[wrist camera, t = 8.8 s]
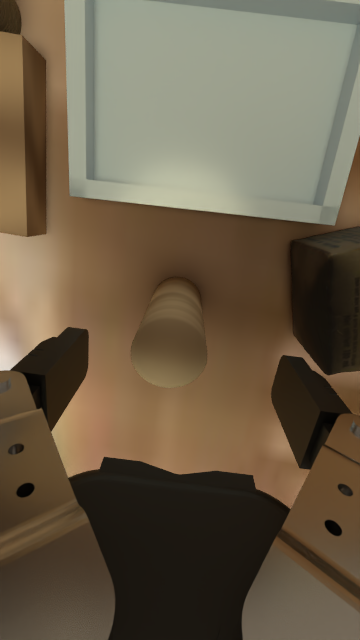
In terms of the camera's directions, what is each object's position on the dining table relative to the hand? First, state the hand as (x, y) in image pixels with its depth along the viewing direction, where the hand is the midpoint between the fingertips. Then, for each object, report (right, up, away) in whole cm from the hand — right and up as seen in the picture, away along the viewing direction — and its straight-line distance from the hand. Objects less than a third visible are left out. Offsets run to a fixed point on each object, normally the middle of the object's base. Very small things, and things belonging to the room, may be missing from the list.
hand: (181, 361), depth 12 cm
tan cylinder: (0, +3, +10) cm, 11 cm away
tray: (+2, +14, +6) cm, 15 cm away
